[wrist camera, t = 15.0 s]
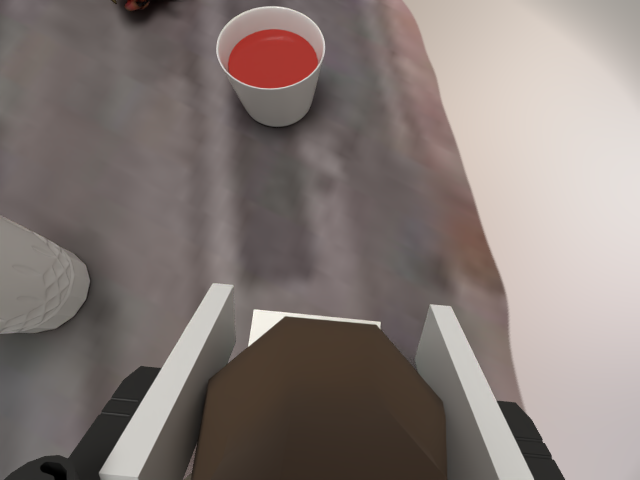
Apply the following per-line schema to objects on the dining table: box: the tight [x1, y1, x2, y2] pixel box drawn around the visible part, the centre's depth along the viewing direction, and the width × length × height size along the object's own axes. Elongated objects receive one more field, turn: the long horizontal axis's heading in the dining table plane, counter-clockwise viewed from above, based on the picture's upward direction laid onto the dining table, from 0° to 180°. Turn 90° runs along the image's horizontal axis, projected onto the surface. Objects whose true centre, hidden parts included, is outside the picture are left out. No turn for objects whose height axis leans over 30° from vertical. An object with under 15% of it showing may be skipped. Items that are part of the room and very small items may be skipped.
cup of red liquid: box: [216, 6, 325, 127], centre depth 31 cm, size 9×9×6 cm
